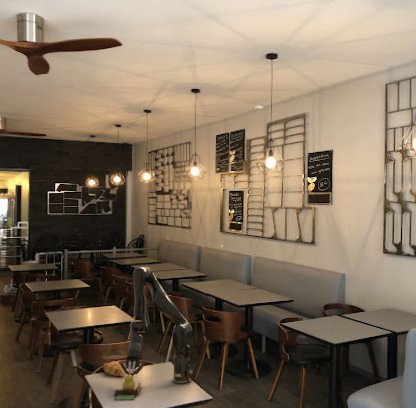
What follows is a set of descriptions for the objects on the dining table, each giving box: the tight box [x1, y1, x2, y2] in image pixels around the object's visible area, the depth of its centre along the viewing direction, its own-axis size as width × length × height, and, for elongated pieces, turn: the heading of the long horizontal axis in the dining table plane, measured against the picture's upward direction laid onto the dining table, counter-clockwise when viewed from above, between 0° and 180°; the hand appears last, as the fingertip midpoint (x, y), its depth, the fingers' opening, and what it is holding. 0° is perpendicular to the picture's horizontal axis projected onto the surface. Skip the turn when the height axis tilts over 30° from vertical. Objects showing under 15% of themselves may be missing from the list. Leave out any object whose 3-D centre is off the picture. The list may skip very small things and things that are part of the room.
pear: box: [122, 372, 136, 389], centre depth 249 cm, size 6×6×11 cm
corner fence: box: [114, 382, 142, 397], centre depth 249 cm, size 12×11×3 cm
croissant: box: [102, 360, 126, 377], centre depth 277 cm, size 21×10×8 cm, turn 50°
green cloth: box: [115, 395, 136, 401], centre depth 241 cm, size 9×5×1 cm, turn 93°
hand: (129, 381), depth 252 cm, fingers closed
